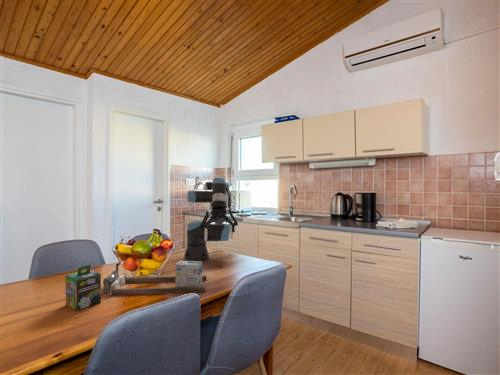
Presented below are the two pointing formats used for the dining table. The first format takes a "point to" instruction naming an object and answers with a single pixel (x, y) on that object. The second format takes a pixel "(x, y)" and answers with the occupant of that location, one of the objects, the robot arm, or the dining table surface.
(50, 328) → the dining table surface
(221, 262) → the dining table surface
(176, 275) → the light bulb box
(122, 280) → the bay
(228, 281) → the dining table surface
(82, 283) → the chalk box
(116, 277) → the winch
